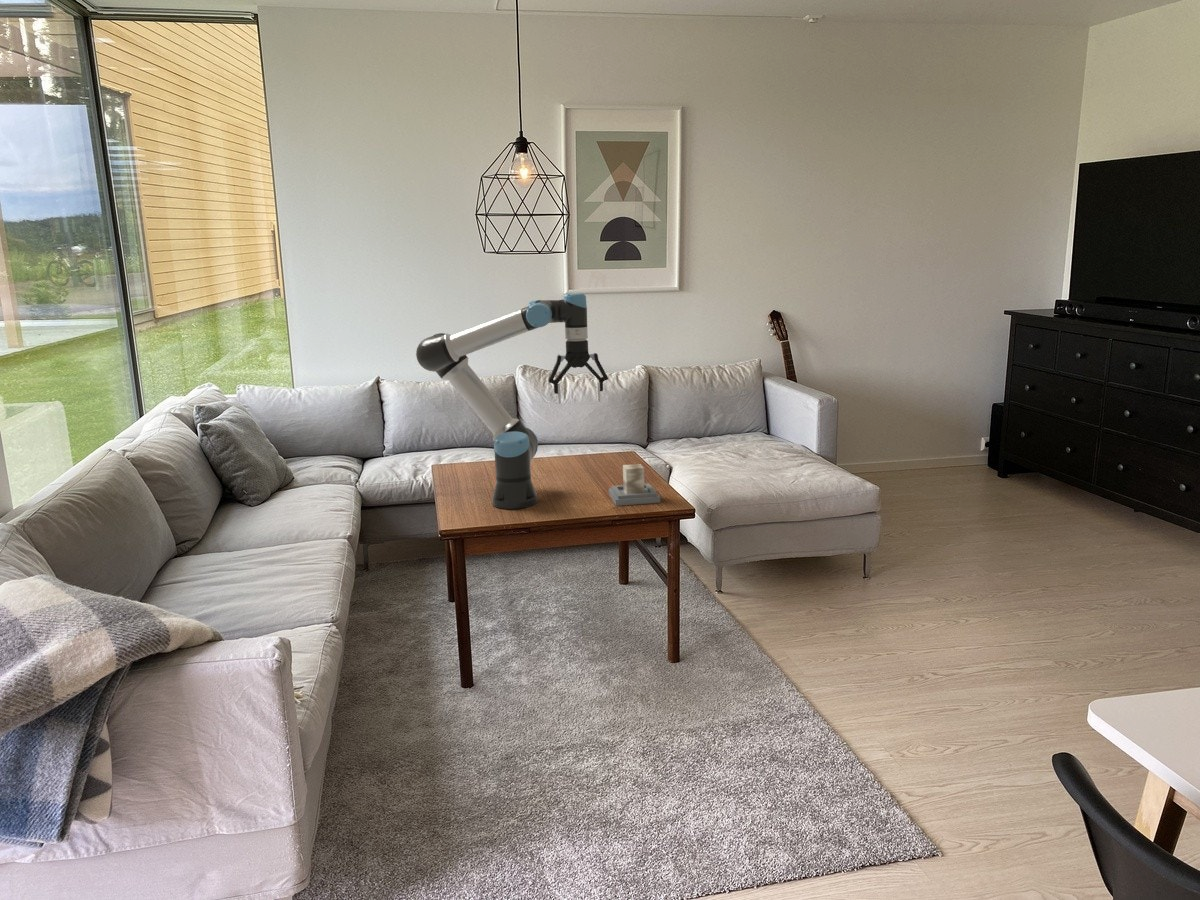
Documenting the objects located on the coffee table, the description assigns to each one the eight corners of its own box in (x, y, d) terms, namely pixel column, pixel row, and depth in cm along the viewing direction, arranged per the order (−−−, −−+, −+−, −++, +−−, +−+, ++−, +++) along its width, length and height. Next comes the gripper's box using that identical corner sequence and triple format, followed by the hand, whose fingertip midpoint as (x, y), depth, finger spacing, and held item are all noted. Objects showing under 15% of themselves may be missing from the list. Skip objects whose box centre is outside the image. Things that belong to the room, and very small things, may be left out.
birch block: (626, 495, 292) (626, 469, 290) (623, 490, 298) (622, 465, 296) (644, 494, 293) (643, 468, 291) (640, 489, 299) (640, 463, 297)
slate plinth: (615, 505, 288) (615, 497, 287) (608, 493, 302) (608, 485, 302) (660, 502, 290) (660, 493, 289) (651, 490, 304) (651, 482, 304)
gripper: (540, 342, 289) (543, 405, 294) (615, 339, 293) (616, 401, 298) (538, 340, 297) (541, 402, 301) (611, 337, 300) (613, 398, 305)
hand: (579, 402), depth 299 cm, fingers open, 13 cm apart
